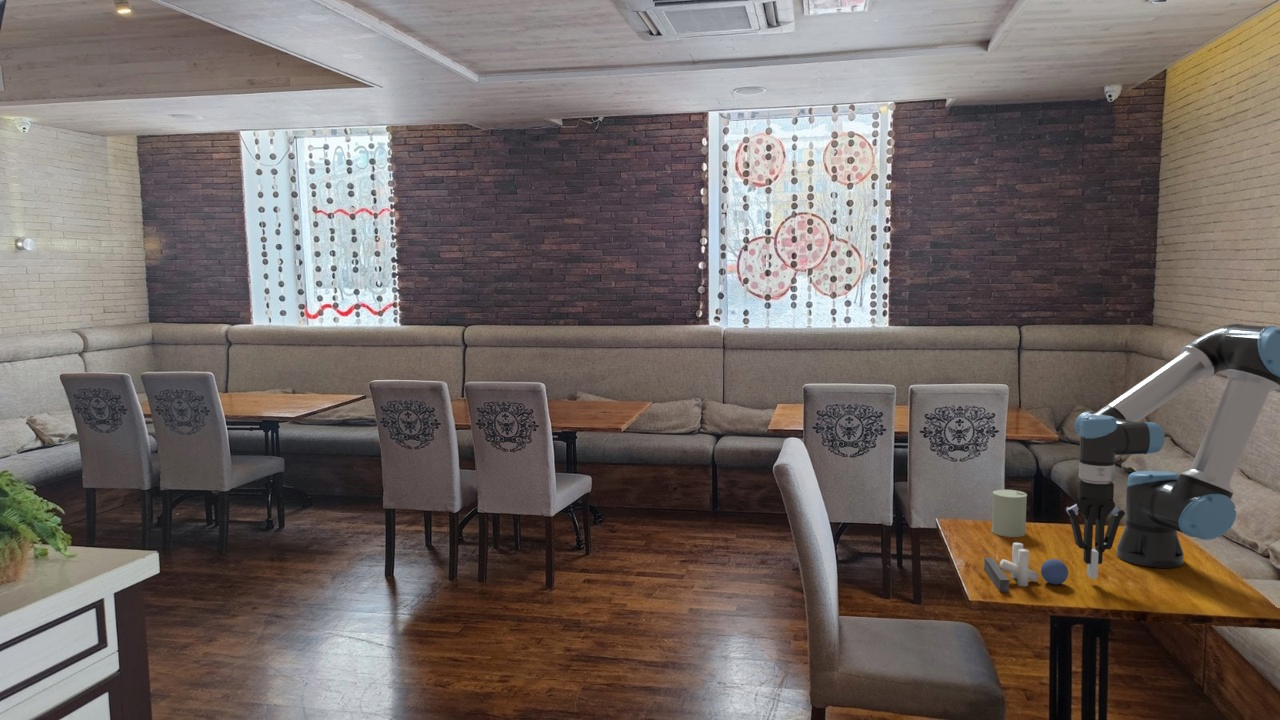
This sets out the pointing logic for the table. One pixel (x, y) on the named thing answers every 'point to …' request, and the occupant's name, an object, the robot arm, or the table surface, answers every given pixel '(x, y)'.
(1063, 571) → the ball
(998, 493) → the can
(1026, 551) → the pin back left
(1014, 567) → the pin front
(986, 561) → the back wall
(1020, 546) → the pin back right
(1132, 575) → the table surface
